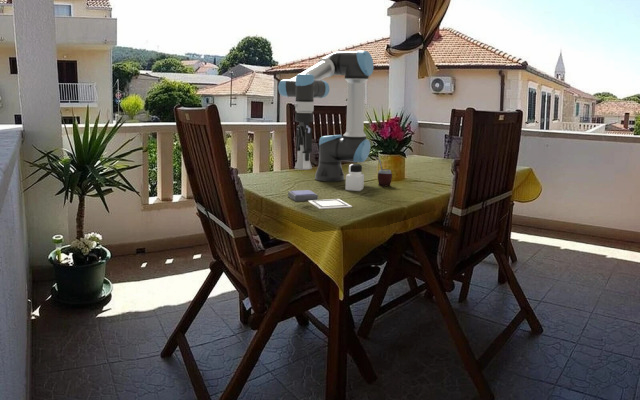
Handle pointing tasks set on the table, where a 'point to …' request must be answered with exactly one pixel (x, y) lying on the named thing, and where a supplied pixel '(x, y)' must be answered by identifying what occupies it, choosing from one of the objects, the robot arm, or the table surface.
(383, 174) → the mate gourd
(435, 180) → the table surface
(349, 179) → the medicine bottle
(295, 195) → the pad
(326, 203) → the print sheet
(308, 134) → the robot arm
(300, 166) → the flask
